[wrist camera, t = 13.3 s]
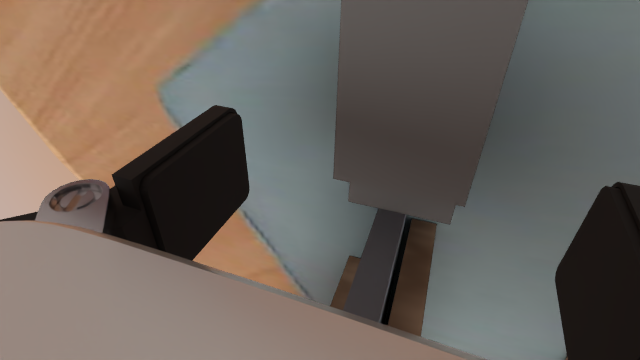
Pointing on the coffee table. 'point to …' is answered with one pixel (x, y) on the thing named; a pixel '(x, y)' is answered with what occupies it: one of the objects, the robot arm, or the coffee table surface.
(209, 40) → the coffee table surface
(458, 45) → the grey stepped block
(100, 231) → the robot arm
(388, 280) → the sliding door
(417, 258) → the door wall
